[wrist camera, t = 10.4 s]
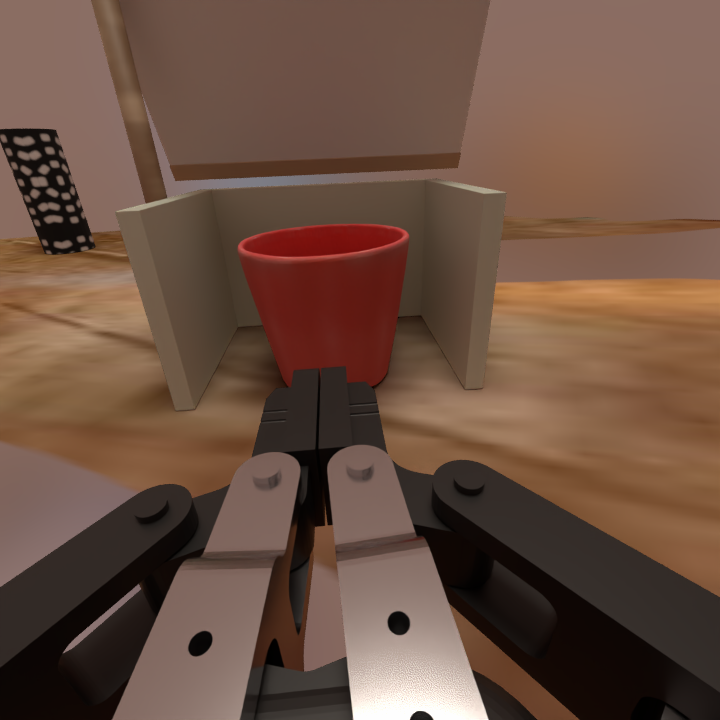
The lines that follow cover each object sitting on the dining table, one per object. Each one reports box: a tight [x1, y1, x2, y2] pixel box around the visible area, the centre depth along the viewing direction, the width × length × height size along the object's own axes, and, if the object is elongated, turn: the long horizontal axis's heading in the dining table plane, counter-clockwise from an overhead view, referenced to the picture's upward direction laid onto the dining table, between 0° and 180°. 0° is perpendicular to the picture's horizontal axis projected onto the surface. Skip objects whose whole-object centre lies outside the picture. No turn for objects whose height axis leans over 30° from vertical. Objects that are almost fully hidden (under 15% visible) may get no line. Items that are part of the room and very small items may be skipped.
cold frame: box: [115, 179, 507, 411], centre depth 30 cm, size 20×15×12 cm
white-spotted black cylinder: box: [0, 129, 95, 254], centre depth 72 cm, size 8×8×20 cm
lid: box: [119, 0, 490, 181], centre depth 26 cm, size 23×15×1 cm
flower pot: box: [237, 224, 409, 387], centre depth 27 cm, size 11×11×10 cm
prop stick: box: [91, 0, 167, 204], centre depth 27 cm, size 1×1×24 cm
